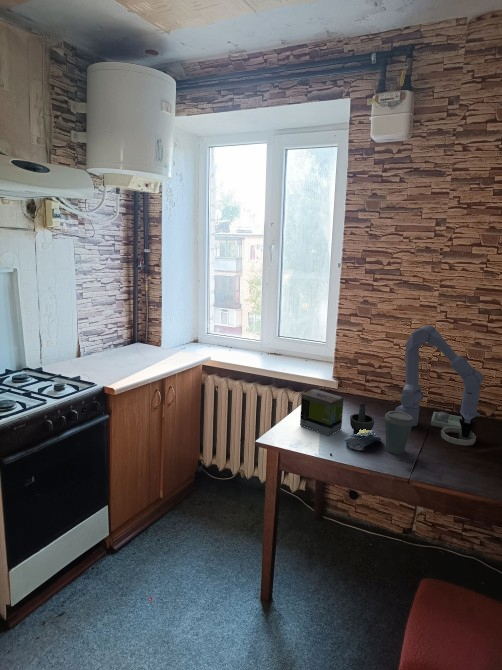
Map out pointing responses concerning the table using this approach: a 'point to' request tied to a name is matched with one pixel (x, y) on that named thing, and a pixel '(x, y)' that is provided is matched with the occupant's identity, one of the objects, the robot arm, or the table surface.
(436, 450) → the table surface
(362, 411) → the mortar and pestle
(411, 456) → the table surface
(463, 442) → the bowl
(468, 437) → the pebble
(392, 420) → the disposable coffee cup
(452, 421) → the parts tray
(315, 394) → the small aquarium
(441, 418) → the pebble
